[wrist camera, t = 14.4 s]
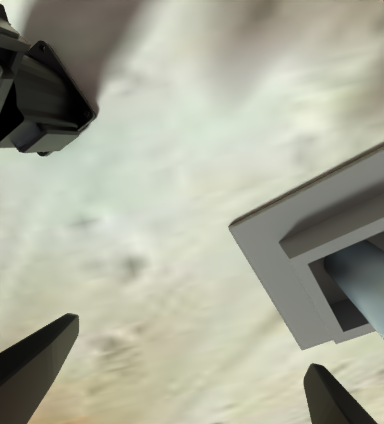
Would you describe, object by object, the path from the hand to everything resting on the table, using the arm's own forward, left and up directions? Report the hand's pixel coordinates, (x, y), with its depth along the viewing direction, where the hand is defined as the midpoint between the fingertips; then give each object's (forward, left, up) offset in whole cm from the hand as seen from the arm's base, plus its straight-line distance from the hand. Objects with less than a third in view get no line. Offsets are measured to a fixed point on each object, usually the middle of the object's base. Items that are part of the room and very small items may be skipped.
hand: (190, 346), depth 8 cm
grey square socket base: (+9, +10, -13) cm, 19 cm away
